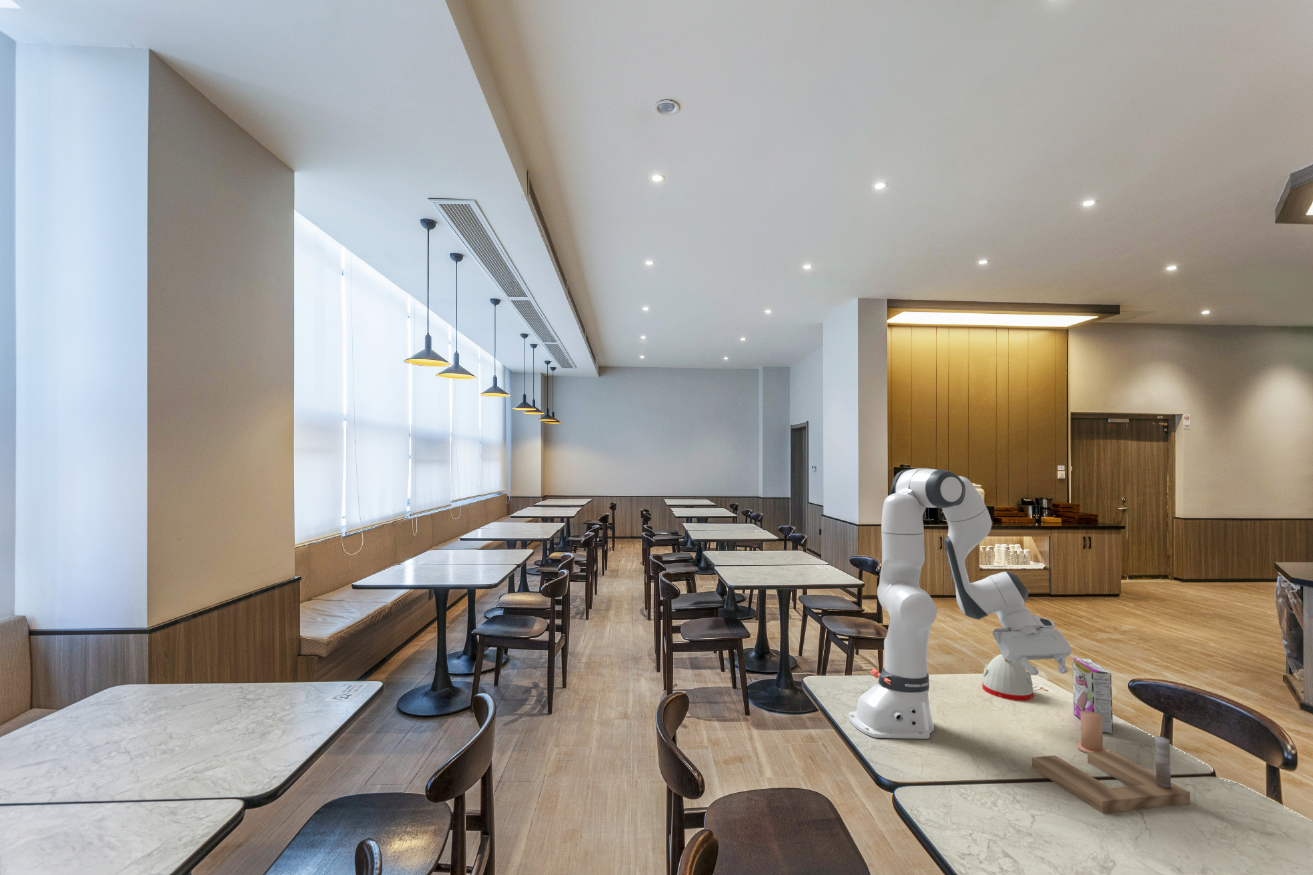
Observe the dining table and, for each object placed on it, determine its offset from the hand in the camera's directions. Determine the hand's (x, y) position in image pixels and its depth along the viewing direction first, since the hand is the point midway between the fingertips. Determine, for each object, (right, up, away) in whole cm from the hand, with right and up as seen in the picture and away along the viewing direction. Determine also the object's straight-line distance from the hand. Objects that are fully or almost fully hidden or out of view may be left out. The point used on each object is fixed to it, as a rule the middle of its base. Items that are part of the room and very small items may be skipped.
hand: (1050, 673), depth 159 cm
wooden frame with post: (-7, -14, -28) cm, 32 cm away
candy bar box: (+13, -15, +2) cm, 21 cm away
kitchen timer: (+3, -16, +25) cm, 30 cm away
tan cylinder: (+2, -14, -13) cm, 19 cm away
